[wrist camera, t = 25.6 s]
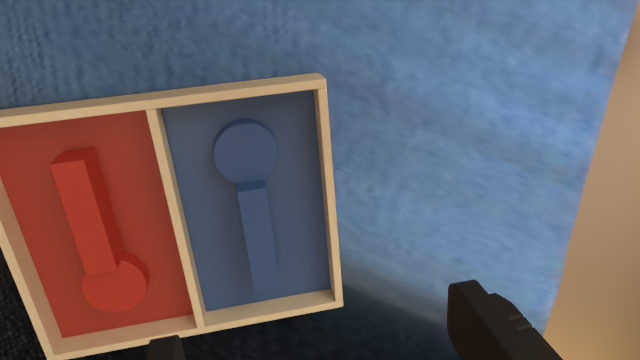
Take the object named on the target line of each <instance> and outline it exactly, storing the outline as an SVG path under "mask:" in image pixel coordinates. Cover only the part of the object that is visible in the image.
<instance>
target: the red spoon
mask: <svg viewBox="0 0 640 360" xmlns="http://www.w3.org/2000/svg"><path fill="white" fill-rule="evenodd" d="M49 166H50V169H51V172H52V175H53V178H54V181H55V184H56V187H57V190H58V193H59V196H60V199H61V201H62V204H63V207H64V210H65V213H66V216H67V219H68V222H69V225H70V228H71V231H72V234H73V237H74V240H75V243H76V246H77V249H78V252H79V255H80V258H81V261H82V263H83V266H84V269H85V273H84V275H83V277H82V280H81V290H82V293H83V296H84V297H85V299H86V300H87V301H88V302H89V303H90V304H91V305H93V306H94V307H96V308H98V309H100V310H103V311H108V312H122V311H126V310H129V309H131V308H133V307H135V306H136V305H138V304H139V303H140V302H141V301H142V300H143V298H144V297H145V294H146V291H147V288H148V284H149V273H148V270H147V268H146V266H145V265H144V264H143V263H142V262H141V261H140V260H139V259H138V258H136V257H135V256H133V255H130V254H127V253H124V252H125V251H124V248H123V244H122V241H121V237H120V234H119V231H118V227H117V224H116V220H115V217H114V214H113V210H112V207H111V203H110V200H109V196H108V193H107V190H106V186H105V183H104V179H103V176H102V173H101V169H100V166H99V162H98V159H97V155H96V152H95V149H94V148H86V149H78V150H71V151H63V152H62V153H61V154H60V155H58V156H57V157H56V158H55V159H54V160H53V161H52V162H51V163H50V164H49Z"/></svg>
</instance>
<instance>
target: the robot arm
mask: <svg viewBox="0 0 640 360" xmlns="http://www.w3.org/2000/svg"><path fill="white" fill-rule="evenodd" d="M447 329H448V333H449V337H450V340H451V342H452V344H453V346H454V347H455V349H456V351H457V352H458V354H459V355H460V357H461V359H462V360H563V359H562V358H561V357H560V356H559V355H558V354H557V353H556V352H555V350H554V349H553V348H552V347H551V346H550V345H549V344H548V343H547V342H546V340H545V339H544V338H543V337H542V336H541V335H540V334H539V333H538V331H537V330H536V329H535V328H532V325H531V324H530V323H529V321H528V320H527V319H526V318H525V317H523V315H522V314H521V312H520V311H519V310H518V309H517V308H516V307H515V306H514V305H513V304H512V303H511V302H510V301H508V300H506V299H505V298H503V297H501V296H500V295H498V294H496V293H494V294H488V293H487V292H486V291H485V290H484V289H483V287H482V286H481V285H480V284H479V283H478V282H477V281H476V280H469V281H463V282H458V283H453V284H450V285H449V288H448V310H447ZM145 360H186V358H185V355H184V351H183V347H182V343H181V340H180V337H179V335H172V336H167V337H162V338H156V339H151V340H150V342H149V345H148V349H147V354H146V359H145Z"/></svg>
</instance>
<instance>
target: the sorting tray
mask: <svg viewBox="0 0 640 360" xmlns="http://www.w3.org/2000/svg"><path fill="white" fill-rule="evenodd" d="M244 119H246V120H254V121H257V122H259V123H261V124H263V125H265V126H266V127H267V128H268V129H269V130H270V131H271V132H272V134H273V135H274V137H275V140H276V142H277V145H278V150H279V159H278V163H277V166H276V168H275V170H274V171H273V172H272V174H271V175H270V176H269V177H268V178H266V179H265V183H266V188H267V195H268V202H269V209H270V216H271V223H272V230H273V237H274V244H275V251H276V258H277V265H278V272H279V279H280V287H275V288H270V289H265V290H259V291H253V287H252V281H251V275H250V269H249V263H248V257H247V251H246V246H245V240H244V234H243V228H242V222H241V216H240V210H239V205H238V199H237V192H236V184H235V183H232V182H230V181H228V180H226V179H225V178H224V177H223V176H222V175H221V174H220V173H219V172H218V170H217V169H216V167H215V164H214V161H213V145H214V141H215V138H216V136H217V135H218V133H219V132H220V131H221V129H222V128H224V127H225V126H226V125H228V124H229V123H231V122H234V121H237V120H244ZM86 148H94V149H95V152H96V155H97V159H98V162H99V166H100V169H101V173H102V176H103V179H104V183H105V186H106V190H107V193H108V196H109V200H110V203H111V207H112V210H113V214H114V217H115V220H116V224H117V227H118V231H119V234H120V237H121V241H122V244H123V248H124V251H125V252H124V253H127V254H130V255H133V256H135V257H136V258H138V259H139V260H140V261H141V262H142V263H143V264H144V265H145V266H146V268H147V270H148V273H149V284H148V288H147V291H146V294H145V297H144V298H143V300H142V301H141V302H140V303H139V304H138V305H136V306H135V307H133V308H131V309H129V310H126V311H122V312H108V311H103V310H100V309H98V308H96V307H94V306H93V305H91V304H90V303H89V302H88V301H87V300H86V299H85V297H84V296H83V293H82V290H81V280H82V277H83V275H84V273H85V269H84V266H83V263H82V261H81V258H80V255H79V252H78V249H77V246H76V243H75V240H74V237H73V234H72V231H71V228H70V225H69V222H68V219H67V216H66V213H65V210H64V207H63V204H62V201H61V199H60V196H59V193H58V190H57V187H56V184H55V181H54V178H53V175H52V172H51V169H50V166H49V164H50V163H51V162H52V161H53V160H54V159H55V158H56V157H57V156H58V155H60V154H61V153H62V152H63V151H71V150H78V149H86ZM0 247H1V249H2V252H3V254H4V256H5V259H6V261H7V264H8V266H9V269H10V271H11V273H12V276H13V278H14V281H15V283H16V285H17V288H18V290H19V293H20V295H21V298H22V300H23V302H24V305H25V307H26V310H27V312H28V315H29V317H30V319H31V322H32V324H33V327H34V329H35V331H36V334H37V336H38V339H39V341H40V344H41V346H42V348H43V351H44V353H45V356H46V358H47V360H67V359H72V358H77V357H83V356H88V355H93V354H98V353H104V352H109V351H114V350H119V349H124V348H130V347H135V346H140V345H145V344H149V342H150V340H151V339H156V338H162V337H167V336H172V335H179V337H180V338H182V337H187V336H192V335H197V334H203V333H208V332H213V331H218V330H224V329H229V328H234V327H239V326H244V325H250V324H255V323H260V322H265V321H270V320H276V319H281V318H286V317H291V316H297V315H302V314H307V313H312V312H317V311H323V310H328V309H333V308H338V307H343V294H342V281H341V268H340V255H339V243H338V230H337V217H336V204H335V191H334V178H333V165H332V152H331V139H330V126H329V113H328V100H327V89H326V79H325V78H324V77H323V76H322V75H321V74H319V73H309V74H301V75H292V76H284V77H275V78H267V79H258V80H250V81H241V82H233V83H224V84H216V85H207V86H199V87H190V88H182V89H173V90H165V91H156V92H147V93H139V94H130V95H122V96H113V97H105V98H96V99H88V100H79V101H71V102H62V103H54V104H45V105H37V106H28V107H20V108H11V109H2V110H0Z"/></svg>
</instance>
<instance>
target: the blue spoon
mask: <svg viewBox="0 0 640 360" xmlns="http://www.w3.org/2000/svg"><path fill="white" fill-rule="evenodd" d="M278 159H279V150H278V145H277V142H276V140H275V137H274V135H273V134H272V132H271V131H270V130H269V129H268V128H267V127H266V126H265V125H263V124H261V123H259V122H257V121H254V120H246V119H244V120H237V121H234V122H231V123H229V124H228V125H226V126H225V127H224V128H222V129H221V131H220V132H219V133H218V135H217V136H216V138H215V141H214V145H213V161H214V164H215V167H216V169H217V170H218V172H219V173H220V174H221V175H222V176H223V177H224V178H225V179H226V180H228V181H230V182H232V183H235V184H236V192H237V199H238V205H239V210H240V216H241V222H242V228H243V234H244V240H245V246H246V251H247V257H248V263H249V269H250V275H251V281H252V287H253V291H259V290H265V289H270V288H275V287H280V279H279V272H278V265H277V258H276V251H275V244H274V237H273V230H272V223H271V216H270V209H269V202H268V195H267V188H266V183H265V179H266V178H268V177H269V176H270V175H271V174H272V172H273V171H274V170H275V168H276V166H277V163H278Z"/></svg>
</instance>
